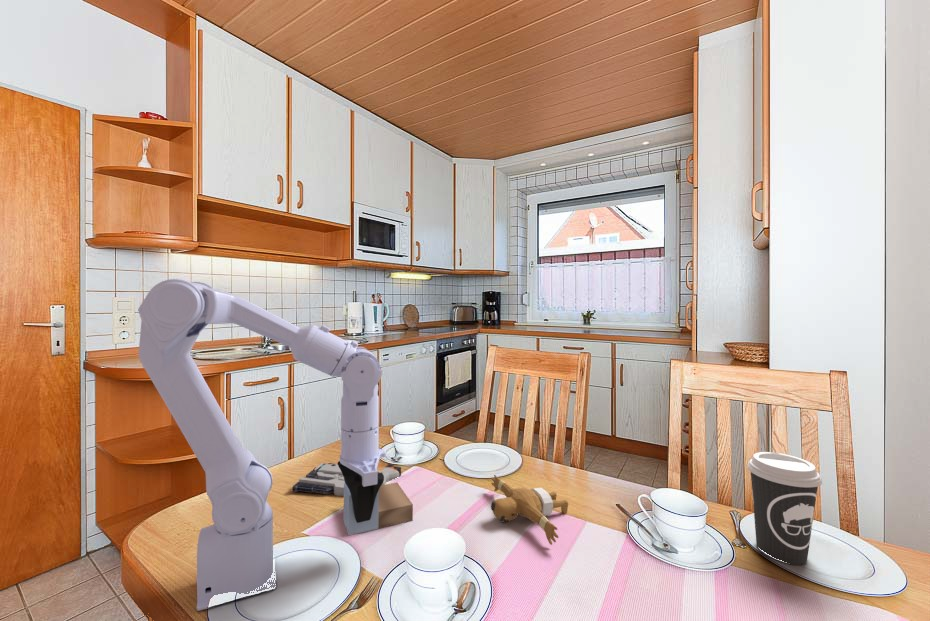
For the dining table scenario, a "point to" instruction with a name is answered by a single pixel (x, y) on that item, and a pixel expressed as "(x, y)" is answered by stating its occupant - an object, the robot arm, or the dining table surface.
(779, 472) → the coffee cup
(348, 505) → the slate block
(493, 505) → the toy
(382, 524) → the walnut base
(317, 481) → the toy gun
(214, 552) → the robot arm
